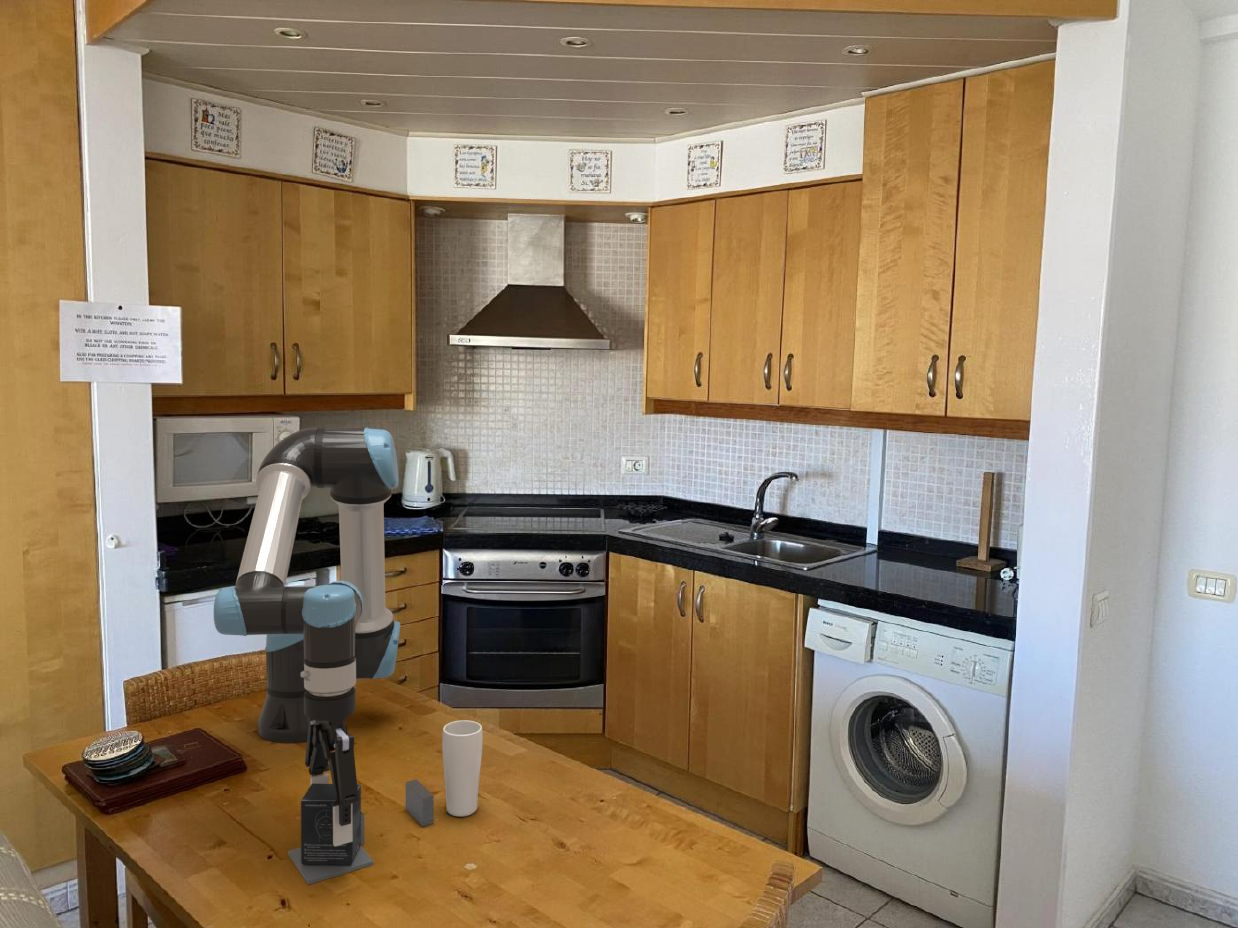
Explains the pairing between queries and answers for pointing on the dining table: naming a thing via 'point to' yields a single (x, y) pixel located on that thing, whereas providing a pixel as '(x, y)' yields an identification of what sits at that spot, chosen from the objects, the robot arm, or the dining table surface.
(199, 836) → the dining table surface
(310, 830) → the box
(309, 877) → the mat
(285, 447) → the robot arm
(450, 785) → the drinking glass
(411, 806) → the vise
